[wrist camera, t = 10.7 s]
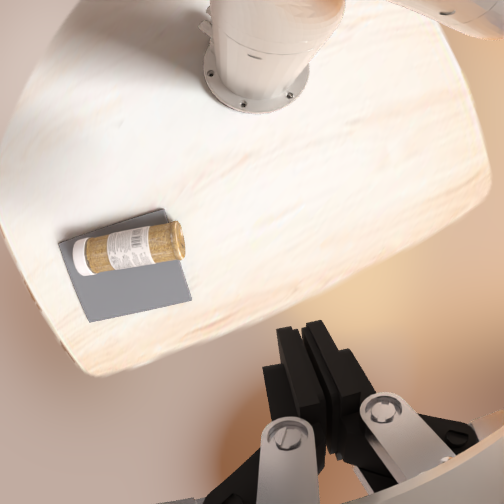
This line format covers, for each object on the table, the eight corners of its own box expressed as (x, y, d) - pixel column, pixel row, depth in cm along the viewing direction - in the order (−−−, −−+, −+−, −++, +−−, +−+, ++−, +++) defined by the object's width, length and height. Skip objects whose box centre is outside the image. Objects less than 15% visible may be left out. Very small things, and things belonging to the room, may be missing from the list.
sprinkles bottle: (183, 226, 36) (88, 244, 35) (175, 214, 31) (70, 235, 31) (187, 263, 35) (89, 278, 34) (179, 255, 30) (71, 273, 30)
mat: (90, 320, 38) (89, 322, 37) (60, 242, 35) (58, 243, 34) (192, 298, 38) (191, 300, 37) (164, 208, 35) (163, 209, 34)
